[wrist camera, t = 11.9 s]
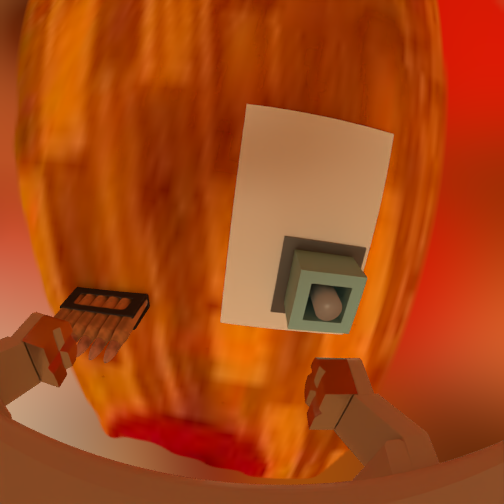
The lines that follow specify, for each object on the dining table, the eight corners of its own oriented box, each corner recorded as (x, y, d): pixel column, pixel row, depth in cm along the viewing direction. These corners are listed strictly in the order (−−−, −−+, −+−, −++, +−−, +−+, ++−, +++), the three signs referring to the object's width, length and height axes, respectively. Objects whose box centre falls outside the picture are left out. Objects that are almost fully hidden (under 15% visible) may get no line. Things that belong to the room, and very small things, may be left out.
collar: (294, 249, 31) (301, 269, 27) (352, 257, 32) (367, 277, 27) (283, 302, 34) (287, 328, 29) (338, 308, 34) (348, 333, 29)
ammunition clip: (148, 294, 36) (111, 356, 25) (150, 306, 36) (115, 371, 25) (76, 286, 36) (28, 338, 25) (79, 299, 36) (33, 351, 25)
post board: (247, 105, 28) (244, 95, 21) (388, 133, 28) (422, 135, 21) (221, 315, 37) (214, 355, 30) (340, 327, 37) (354, 366, 30)
